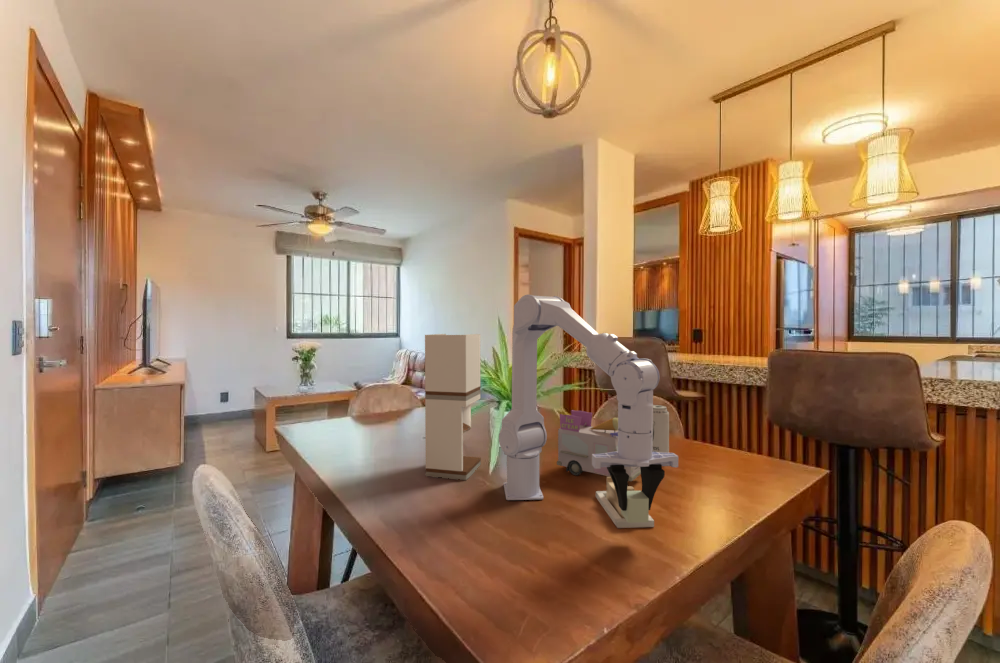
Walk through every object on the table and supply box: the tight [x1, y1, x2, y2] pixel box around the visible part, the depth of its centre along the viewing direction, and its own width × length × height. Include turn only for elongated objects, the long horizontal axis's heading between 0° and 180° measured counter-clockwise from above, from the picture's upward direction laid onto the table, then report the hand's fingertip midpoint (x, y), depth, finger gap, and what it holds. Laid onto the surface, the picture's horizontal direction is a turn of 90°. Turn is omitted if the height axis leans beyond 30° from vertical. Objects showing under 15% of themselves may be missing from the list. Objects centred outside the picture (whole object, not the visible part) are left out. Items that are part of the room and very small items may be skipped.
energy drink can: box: [652, 404, 670, 453], centre depth 117 cm, size 6×6×15 cm
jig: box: [595, 490, 655, 529], centre depth 86 cm, size 14×7×1 cm, turn 3°
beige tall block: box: [424, 333, 482, 481], centre depth 110 cm, size 11×11×35 cm
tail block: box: [621, 490, 650, 523], centre depth 74 cm, size 4×4×4 cm
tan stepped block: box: [605, 476, 636, 518], centre depth 86 cm, size 11×4×5 cm, turn 3°
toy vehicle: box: [556, 409, 641, 482], centre depth 106 cm, size 9×20×15 cm, turn 53°
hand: (634, 508), depth 74 cm, fingers closed on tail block, 3 cm apart
